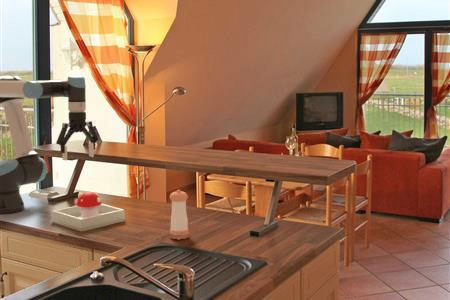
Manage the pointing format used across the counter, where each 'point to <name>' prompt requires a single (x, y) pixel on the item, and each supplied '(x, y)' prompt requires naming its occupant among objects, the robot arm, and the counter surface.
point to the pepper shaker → (179, 213)
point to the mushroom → (88, 204)
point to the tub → (74, 219)
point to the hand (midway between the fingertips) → (78, 158)
